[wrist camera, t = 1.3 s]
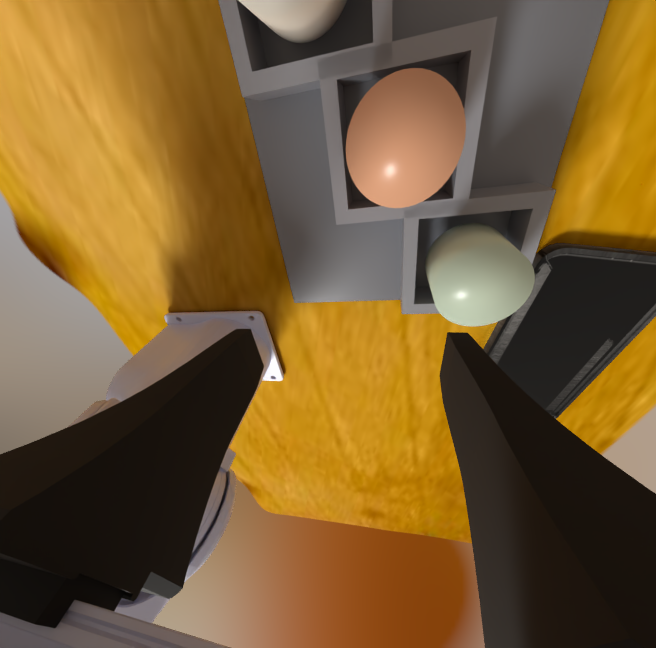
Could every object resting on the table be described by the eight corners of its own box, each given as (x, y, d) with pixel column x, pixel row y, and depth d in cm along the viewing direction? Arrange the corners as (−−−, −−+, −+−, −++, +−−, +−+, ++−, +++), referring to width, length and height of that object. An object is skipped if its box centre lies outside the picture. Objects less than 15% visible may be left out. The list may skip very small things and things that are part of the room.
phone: (456, 409, 24) (548, 245, 15) (453, 398, 25) (538, 238, 16) (551, 425, 23) (711, 262, 14) (545, 414, 24) (691, 254, 15)
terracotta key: (357, 196, 13) (350, 213, 11) (350, 93, 11) (339, 82, 9) (441, 186, 13) (456, 201, 10) (453, 73, 10) (475, 53, 8)
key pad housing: (296, 299, 21) (286, 318, 18) (197, -118, 10) (148, -181, 8) (514, 292, 17) (531, 314, 15) (704, -340, 7) (844, -547, 5)
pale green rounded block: (422, 294, 16) (429, 326, 13) (427, 226, 14) (437, 249, 11) (496, 291, 15) (519, 326, 12) (515, 218, 13) (548, 242, 10)
